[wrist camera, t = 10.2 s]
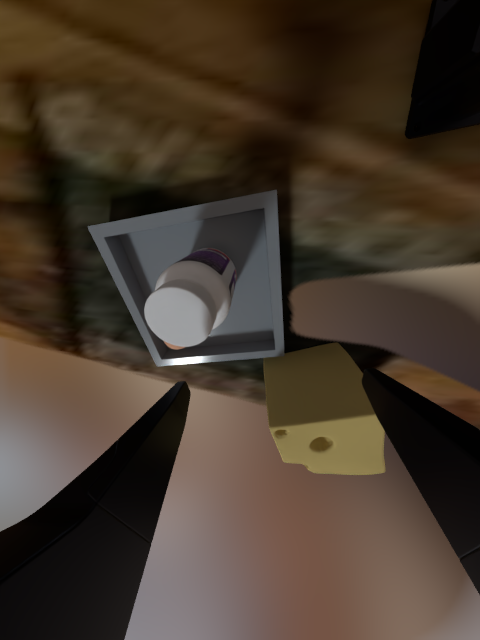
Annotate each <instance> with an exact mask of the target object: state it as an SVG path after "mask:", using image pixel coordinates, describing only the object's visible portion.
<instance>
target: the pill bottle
mask: <svg viewBox="0 0 480 640" xmlns="http://www.w3.org/2000/svg"><path fill="white" fill-rule="evenodd" d="M236 280H237V274H236V269H235V266H234V264H233V262H232V260H231V259H230V258H229V257H228V256H227V255H226V254H225V253H223V252H222V251H220V250H218V249H214V248H202V249H199V250H197V251H195V252H193V253H191V254H190V255H188V256H186V257H185V258H183V259H181V260H179V261H178V262H176V263H174V264H172V265H171V266H169V267H168V268H167V269H166V270H164V271H163V273H162V274H161V275H160V277H159V278H158V280H157V283H156V287H155V291H154V292H153V293H152V294H151V295H150V296H149V297H148V299H147V301H146V303H145V308H144V314H145V319H146V321H147V324H148V326H149V327H150V329H151V330H152V331H153V332H154V333H155V334H156V335H157V336H158V337H159V338H160V339H162V340H163V341H165V342H167V343H170V344H172V345H175V346H181V347H189V346H194V345H197V344H199V343H201V342H203V341H204V340H205V339H206V338H207V337H208V336H209V334H210V333H211V330H213V329H215V328H216V327H218V326H219V325H220V324H221V323H222V322H223V321H224V320H225V318H226V317H227V315H228V312H229V310H230V306H231V302H232V298H233V294H234V290H235V285H236Z"/></svg>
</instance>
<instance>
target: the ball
mask: <svg viewBox="0 0 480 640" xmlns="http://www.w3.org/2000/svg"><path fill="white" fill-rule="evenodd" d="M164 343H165V344H166V345H167V346H168V347H169V348H171V349H176V350H178V349H182V348H185V347H181V346H175V345H172V344H170V343H167V342H165V341H164Z"/></svg>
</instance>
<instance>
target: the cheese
mask: <svg viewBox="0 0 480 640" xmlns="http://www.w3.org/2000/svg"><path fill="white" fill-rule="evenodd" d="M284 354H285V356H279V357H266V358H264V377H265V386H266V404H267V413H268V422H269V428H270V431H271V433H272V436H273V438H274V440H275V443H276V445H277V448H278V450H279V452H280V454H281V457H282V460H283V462H285V463H299V464H304V466H305V467H306V468H307V469H308V470H309V471H312V472H313V473H321V474H324V473H325V474H346V475H347V474H348V475H368V474H369V475H370V474H378V473H383V472H385V462H384V455H383V452H384V436H385V435H384V434H385V431H384V429H383V427H382V426H381V424H380V422H379V420H378V418H377V417H376V414H375V412H374V410H373V408H372V406H371V404H370V401H369V399H368V397H367V395H366V393H365V390H364V388H363V386H362V377H363V373H362V372H361V370H360V369H359V368H358V366H357V365H356V364H355V362H354V361H353V359H352V358H351V357H350V356H349V354H348V353H347V352H346V351H345V350H344V349H343V348H342V346H341V345H340V344H339V343H338V342H336V343H330V344H324V345H319V346H315V347H311V348H307V349H302V350H298V351H294V352H289V353H284Z"/></svg>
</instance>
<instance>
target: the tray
mask: <svg viewBox="0 0 480 640" xmlns="http://www.w3.org/2000/svg"><path fill="white" fill-rule="evenodd" d="M88 229H89V231H90V233H91V235H92V237H93V239H94V241H95V243H96V245H97V247H98V249H99V251H100V253H101V255H102V257H103V259H104V261H105V263H106V265H107V267H108V269H109V271H110V273H111V275H112V277H113V279H114V281H115V283H116V285H117V287H118V289H119V291H120V293H121V295H122V297H123V299H124V301H125V303H126V305H127V307H128V309H129V311H130V313H131V315H132V317H133V319H134V321H135V323H136V325H137V327H138V329H139V331H140V333H141V335H142V337H143V339H144V341H145V343H146V345H147V347H148V349H149V351H150V353H151V355H152V357H153V359H154V361H155V363H156V365H157V366H167V365H180V364H192V363H204V362H217V361H229V360H242V359H254V358H266V357H279V356H285V354H284V333H283V311H282V290H281V269H280V248H279V227H278V206H277V190H272V191H267V192H262V193H257V194H252V195H247V196H241V197H236V198H231V199H226V200H221V201H216V202H211V203H206V204H200V205H195V206H190V207H185V208H180V209H175V210H170V211H165V212H160V213H154V214H149V215H144V216H139V217H134V218H129V219H124V220H119V221H113V222H108V223H103V224H98V225H93V226H88ZM202 248H214V249H218V250H220V251H222V252H223V253H225V254H226V255H227V256H228V257H229V258H230V259H231V260H232V262H233V264H234V266H235V269H236V274H237V280H236V285H235V290H234V294H233V298H232V302H231V306H230V310H229V312H228V315H227V317H226V318H225V320H224V321H223V322H222V323H221V324H220V325H219V326H218V327H216V328H215V329H213V330H211V333H210V334H209V336H208V337H207V338H206V339H205V340H204V341H203V342H201V343H199V344H197V345H194V346H189V347H185V348H182V349H178V350H176V349H171V348H169V347H168V346H167V345H166V344H165V343H164V341H163V340H162V339H160V338H159V337H158V336H157V335H156V334H155V333H154V332H153V331H152V330H151V329H150V327H149V326H148V324H147V321H146V319H145V314H144V308H145V303H146V301H147V299H148V297H149V296H150V295H151V294H152V293H153V292H154V291H155V287H156V283H157V280H158V278H159V277H160V275H161V274H162V273H163V271H164V270H166V269H167V268H168V267H169V266H171V265H172V264H174V263H176V262H178V261H179V260H181V259H183V258H185V257H186V256H188V255H190V254H191V253H193V252H195V251H197V250H199V249H202Z"/></svg>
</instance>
